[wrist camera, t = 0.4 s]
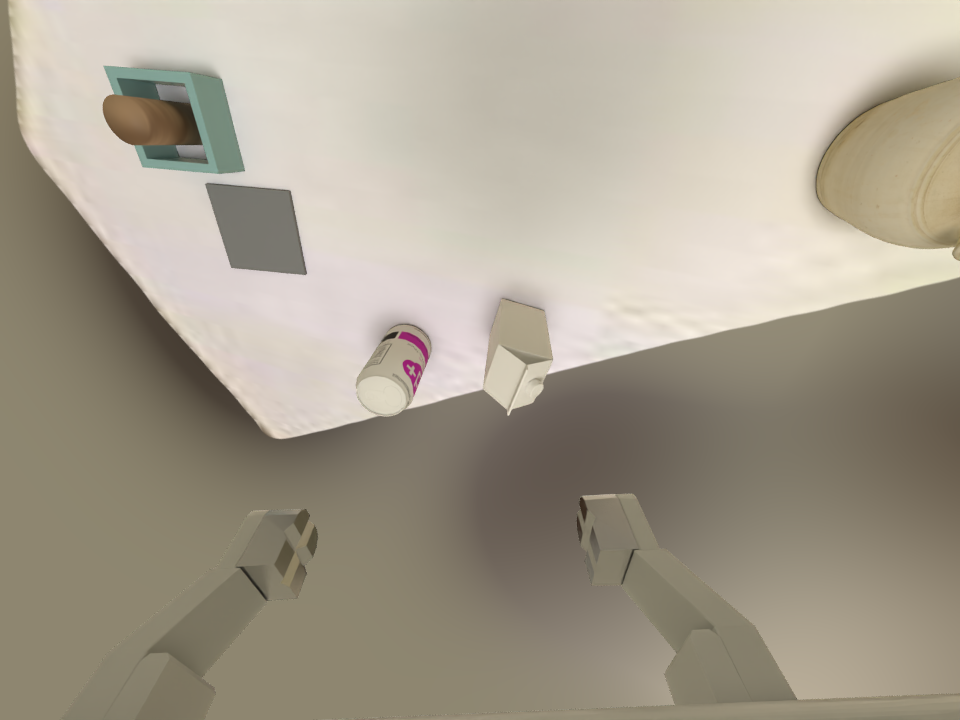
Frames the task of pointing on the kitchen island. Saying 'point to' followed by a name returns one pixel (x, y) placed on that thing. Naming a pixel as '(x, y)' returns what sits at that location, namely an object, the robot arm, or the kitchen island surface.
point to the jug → (900, 170)
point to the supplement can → (394, 371)
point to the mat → (258, 228)
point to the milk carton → (517, 355)
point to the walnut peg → (151, 121)
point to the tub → (207, 113)
